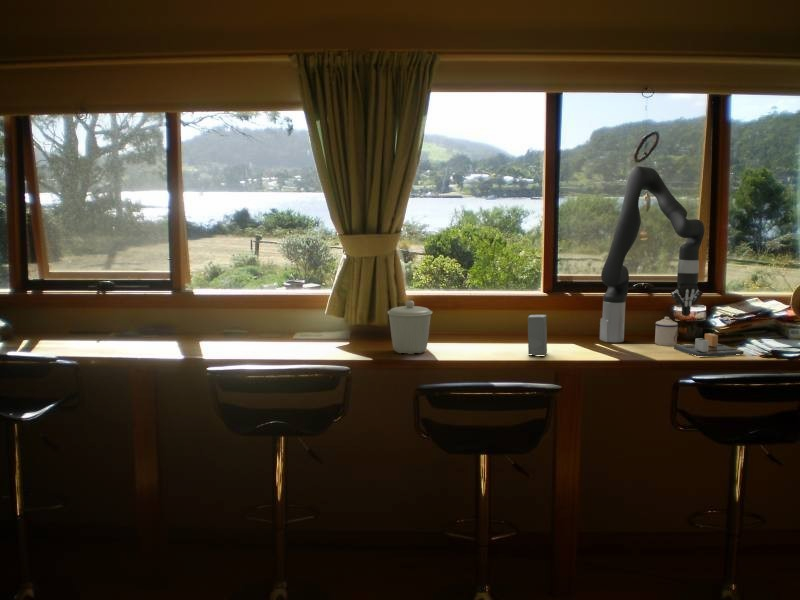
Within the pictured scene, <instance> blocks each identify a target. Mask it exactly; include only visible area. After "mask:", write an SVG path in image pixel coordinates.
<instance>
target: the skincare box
mask: <svg viewBox="0 0 800 600" xmlns="http://www.w3.org/2000/svg"><path fill="white" fill-rule="evenodd" d="M547 324H548V323H547V314H530V315H528V317H527V344H528V345H527V350H528V354H532V355H545V354H546V353H548V338H547V337H548V333H547V326H548V325H547ZM546 355H547V354H546ZM546 355H545V356H546Z"/></svg>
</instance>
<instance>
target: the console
mask: <svg viewBox="0 0 800 600" xmlns="http://www.w3.org/2000/svg"><path fill="white" fill-rule="evenodd" d="M673 347H674V348H673V349H674V350H675V349H676V350H675V351H678V350H679V351H678V352H681V351H682V353H684V352H686V353H685V354H687V353H689V354H688V355H690V354H693V355H696V356H718V357H726V356H725V355H736V354H745V353H744V350H741V349H737V348H734V347H731V346H727V345H725V344H721V343H718V344H717V346H709V348H708V352H701V351H698V350H695V343H694V344H678V345H677V344H676V345H674V346H673ZM693 355H692V356H693ZM736 356H737V355H736Z"/></svg>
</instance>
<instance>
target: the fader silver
mask: <svg viewBox="0 0 800 600" xmlns="http://www.w3.org/2000/svg"><path fill="white" fill-rule="evenodd" d="M694 344H695V350H698V351H701V352H708V348H709V340H706V339H705V338H702V337H701V338H695V341H694Z"/></svg>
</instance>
